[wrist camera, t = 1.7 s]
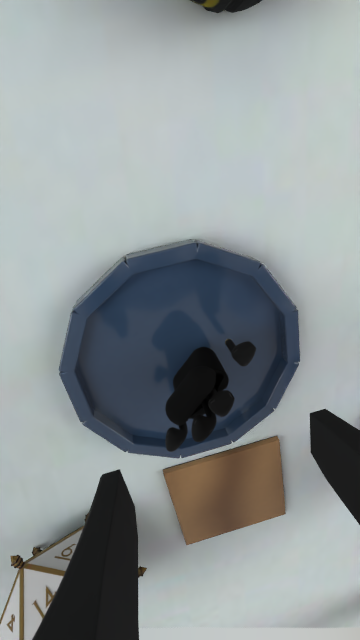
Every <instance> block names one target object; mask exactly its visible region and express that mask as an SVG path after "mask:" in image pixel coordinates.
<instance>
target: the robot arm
mask: <svg viewBox="0 0 360 640" xmlns="http://www.w3.org/2000/svg"><path fill="white" fill-rule="evenodd" d="M310 439H311V454H312V455H313V457H314V459H315V461H316V462H317V464H318V466H319V468H320V469H321V471H322V473H323V474H324V476H325V478H326V479H327V481H328V482H329V484H330V485H331V486H332V488H333V489H334V491H335V492H336V493H337V495H338V496H339V497H340V499H341V500H342V501H343V503H344V504H345V506H346V507H347V508H348V510H349V511H350V512H351V514H352V515H353V516H354V518H355V519H356V520H357V522H358V523H359V525H360V430H358V429H356V428H355V427H353V426H352V425H350V424H348V423H347V422H345V421H344V420H342V419H341V418H339V417H337V416H336V415H334V414H333V413H331V412H329V411H328V410H326V409H323V410H320V411H316V412H313V413H310ZM138 630H139V629H138V534H137V523H136V514H135V506H134V503H133V501H132V498H131V496H130V494H129V491H128V489H127V486H126V484H125V481H124V479H123V477H122V474H121V472H120V469H119V470H116V471H113V472H109V473H106V474H103V475H102V476H101V478H100V481H99V484H98V487H97V491H96V494H95V497H94V500H93V503H92V506H91V509H90V511H89V514H88V517H87V520H86V522H85V525H84V528H83V530H82V533H81V535H80V538H79V541H78V543H77V546H76V548H75V551H74V553H73V555H72V558H71V560H70V562H69V564H68V567H67V569H66V571H65V574H64V576H63V578H62V581H61V583H60V585H59V587H58V589H57V591H56V593H55V596H54V598H53V600H52V602H51V604H50V606H49V608H48V610H47V612H46V614H45V616H44V618H43V620H42V622H41V624H40V626H39V627H38V629H37V631H36V633H35V635H34V637H33V639H32V640H139V631H138Z"/></svg>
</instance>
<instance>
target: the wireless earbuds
mask: <svg viewBox="0 0 360 640" xmlns="http://www.w3.org/2000/svg"><path fill="white" fill-rule="evenodd" d="M225 344H226V346H227V348H228V349H229V351H230V352H231V355H232V357H233V359H234V360H235V361H236V362H237V363H238V364H239V365H240V366H243V367H244V366H247V365H248V364H249V363H250V361H251V360H252V359H253V357H254V355H255V352H256V347H255V346H254V345H253V344H252V343H251V342H250V341H247V342H242V343H240V344H238V345H237V346H236V345H235V344H234V342H233V341H232V340H231V339H227V340H226V341H225ZM228 383H229V378H228V375H227V373H226V372H225V370H224V368H223V366H222V364H221V363H220V361H219V359H218V357H217V355H216V354H215V352H214V351H213V350H211V349H210V348H207V347H200V348H197V349H196V350H194V351H193V353H192V354H191V355H190V356H189V358H188V359H187V360H186V362H185V363H184V364H183V366H182V367H181V368H180V369H179V371H178V372H177V373H176V375H175V376H174V379H173V387H174V390H175V391H174V392H173V393H172V395H171V396H170V397H169V399H168V400H167V402H166V407H165V410H166V415H167V417H168V418H169V420H170V421H171V422H173V423H174V424H176V425H178V426H179V429H177V428H174V427H171V428H169V429H168V430H167V433H166V439H165V444H166V449H167V450H168V451H169V452H173V451H175V450H176V449H178V448H179V447H180V445H181V444H182V443H183V442H184V441H185V439H186V437H187V434H188V428H187V424H186V422H187V421H188V419H193V422H192V428H191V432H192V437H193V440H194V441H195V442H202V441H204V440H205V439H206V438H207V437H208V436H209V435H210V434H211V433H212V431H213V430H214V428H215V426H216V422H217V419H216V415H218V416H220V417H224V416H226V415H227V414H228V413H229V412H230V410H231V408H232V406H233V403H234V396H233V395H232V393H231V392H230V391H228V390H224V389H226V388H227V386H228ZM204 414H206V417H205V416H203V415H204Z"/></svg>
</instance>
